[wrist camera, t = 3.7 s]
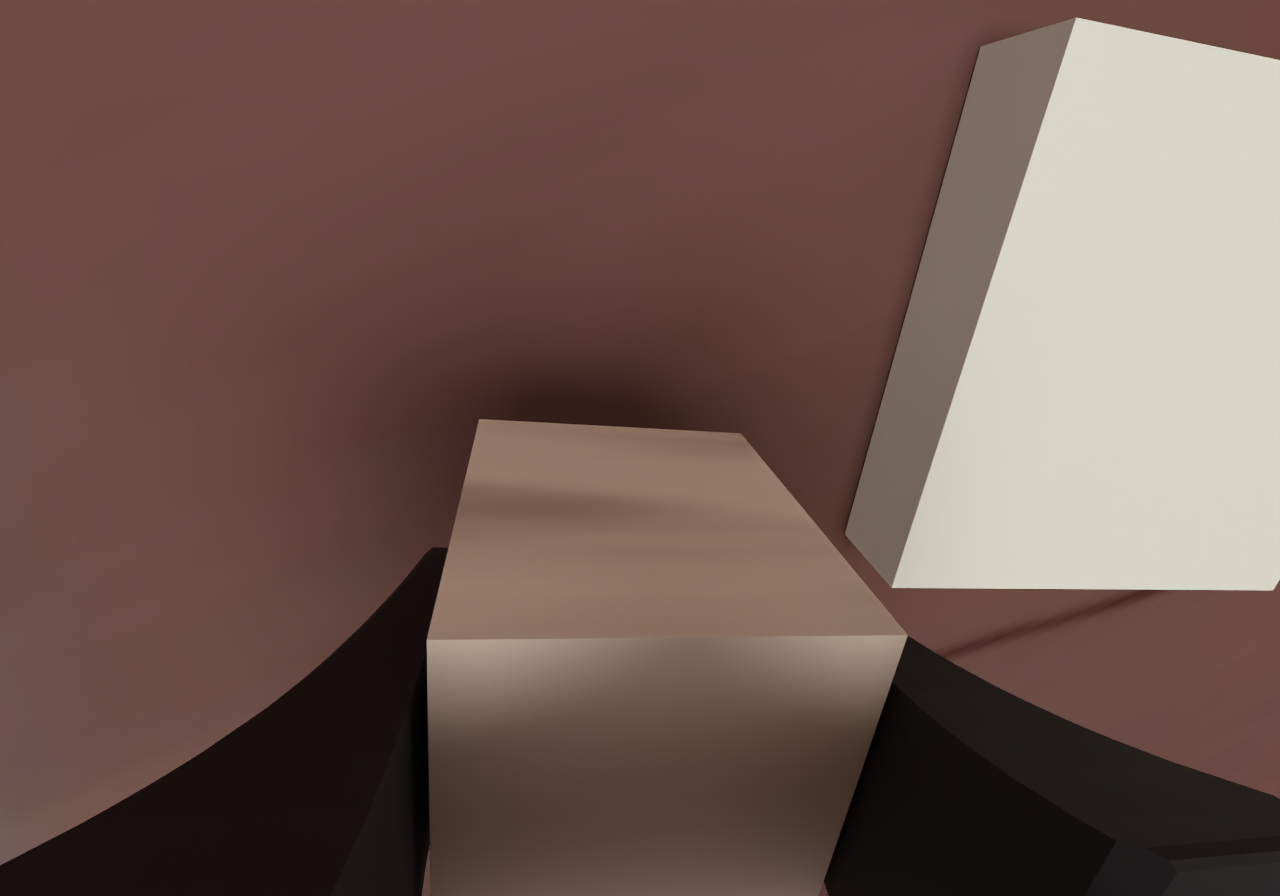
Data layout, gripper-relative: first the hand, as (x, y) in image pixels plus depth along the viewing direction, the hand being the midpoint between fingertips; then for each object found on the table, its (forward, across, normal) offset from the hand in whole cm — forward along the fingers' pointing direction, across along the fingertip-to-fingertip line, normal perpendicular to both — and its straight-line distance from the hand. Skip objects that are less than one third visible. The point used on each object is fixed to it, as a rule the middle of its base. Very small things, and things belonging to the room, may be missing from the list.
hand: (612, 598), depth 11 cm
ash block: (+2, 0, 0) cm, 2 cm away
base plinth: (+8, -16, -4) cm, 18 cm away
